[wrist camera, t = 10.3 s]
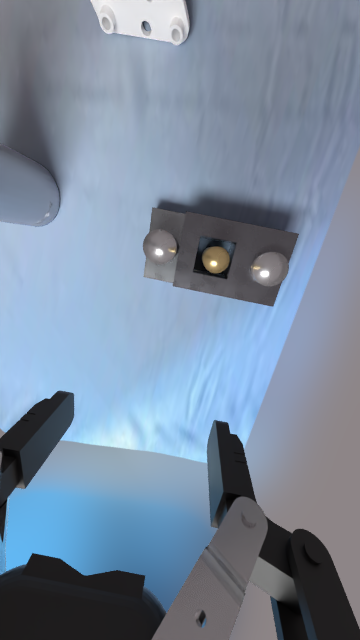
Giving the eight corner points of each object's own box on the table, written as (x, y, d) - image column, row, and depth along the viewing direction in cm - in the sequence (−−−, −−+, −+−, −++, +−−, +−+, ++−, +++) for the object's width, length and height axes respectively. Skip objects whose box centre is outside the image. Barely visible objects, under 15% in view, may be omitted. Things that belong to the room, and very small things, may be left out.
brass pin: (203, 245, 33) (206, 244, 24) (222, 248, 33) (232, 249, 24) (199, 264, 34) (200, 270, 25) (217, 267, 34) (225, 275, 25)
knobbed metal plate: (147, 275, 35) (136, 280, 29) (155, 210, 32) (146, 201, 26) (262, 298, 35) (276, 309, 29) (283, 236, 32) (304, 233, 26)
